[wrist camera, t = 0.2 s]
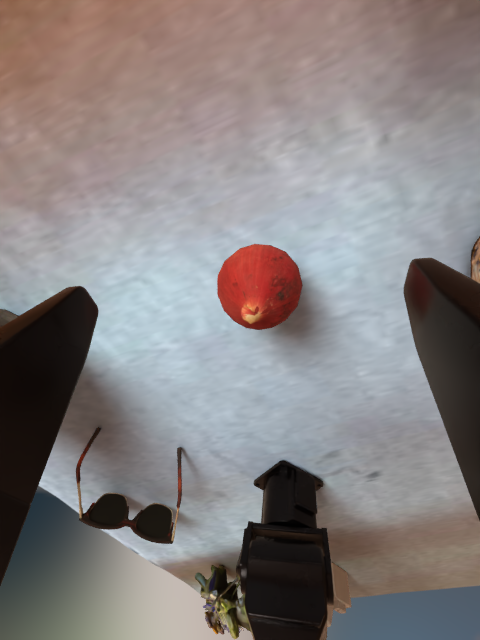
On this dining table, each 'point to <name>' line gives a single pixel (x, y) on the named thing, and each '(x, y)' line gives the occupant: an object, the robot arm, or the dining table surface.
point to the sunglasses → (115, 510)
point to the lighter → (339, 592)
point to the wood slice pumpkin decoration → (475, 261)
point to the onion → (259, 286)
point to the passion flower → (223, 602)
